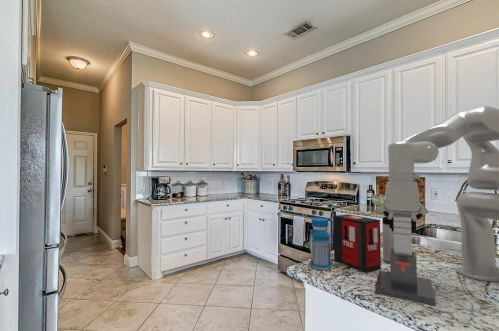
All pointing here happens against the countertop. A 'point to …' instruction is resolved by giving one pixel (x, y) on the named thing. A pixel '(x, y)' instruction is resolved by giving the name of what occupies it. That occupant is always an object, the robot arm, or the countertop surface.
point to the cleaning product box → (357, 242)
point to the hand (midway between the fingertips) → (402, 231)
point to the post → (402, 233)
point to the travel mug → (387, 240)
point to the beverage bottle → (320, 244)
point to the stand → (405, 280)
